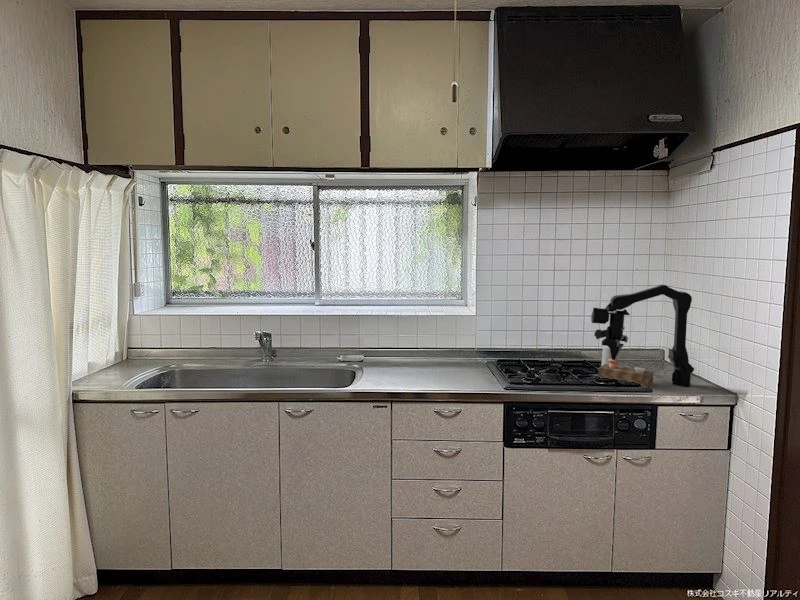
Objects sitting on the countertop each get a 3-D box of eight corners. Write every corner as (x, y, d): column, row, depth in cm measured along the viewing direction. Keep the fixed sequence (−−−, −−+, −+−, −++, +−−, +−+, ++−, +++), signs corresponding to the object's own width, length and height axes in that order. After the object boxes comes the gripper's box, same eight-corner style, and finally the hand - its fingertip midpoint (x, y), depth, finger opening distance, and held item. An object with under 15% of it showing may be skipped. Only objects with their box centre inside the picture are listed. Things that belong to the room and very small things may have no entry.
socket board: (652, 383, 221) (653, 371, 221) (647, 387, 214) (648, 375, 213) (604, 374, 234) (605, 363, 233) (597, 378, 226) (598, 367, 225)
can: (615, 371, 241) (617, 345, 240) (599, 368, 246) (601, 343, 245) (619, 368, 247) (621, 343, 246) (603, 365, 252) (605, 341, 251)
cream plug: (645, 382, 221) (646, 368, 220) (642, 384, 217) (644, 370, 217) (634, 380, 223) (635, 366, 222) (632, 382, 220) (633, 368, 219)
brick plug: (618, 373, 227) (619, 359, 226) (616, 374, 224) (617, 361, 223) (608, 371, 230) (609, 358, 229) (606, 373, 226) (607, 359, 226)
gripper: (603, 320, 236) (601, 353, 238) (590, 324, 222) (588, 360, 223) (629, 323, 230) (626, 357, 231) (617, 327, 215) (614, 364, 217)
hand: (613, 359), depth 226 cm, fingers closed, pressing on brick plug
